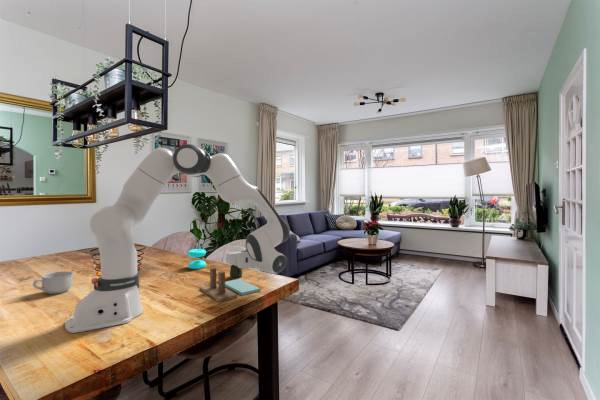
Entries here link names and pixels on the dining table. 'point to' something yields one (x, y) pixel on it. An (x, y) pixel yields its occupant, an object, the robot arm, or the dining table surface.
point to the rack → (218, 287)
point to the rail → (236, 248)
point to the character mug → (235, 270)
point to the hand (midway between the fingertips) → (241, 252)
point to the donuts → (197, 263)
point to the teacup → (55, 282)
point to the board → (241, 287)
